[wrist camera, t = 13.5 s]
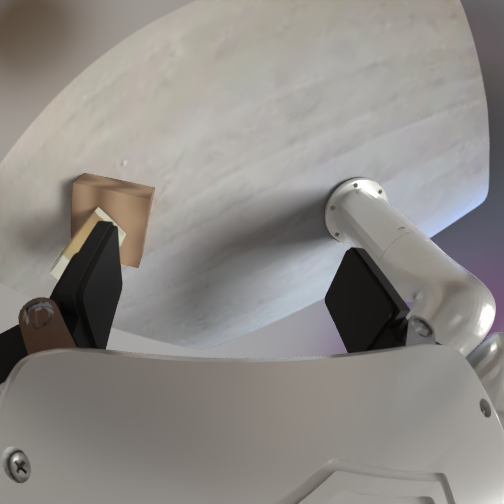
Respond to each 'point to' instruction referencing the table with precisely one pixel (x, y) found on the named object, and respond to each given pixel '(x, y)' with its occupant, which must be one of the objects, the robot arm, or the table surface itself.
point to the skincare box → (81, 241)
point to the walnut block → (115, 210)
